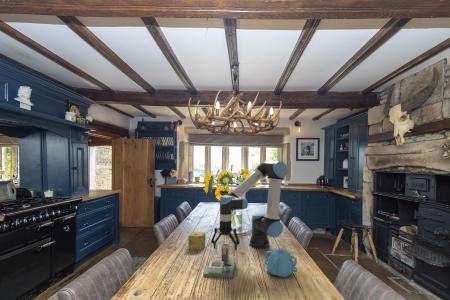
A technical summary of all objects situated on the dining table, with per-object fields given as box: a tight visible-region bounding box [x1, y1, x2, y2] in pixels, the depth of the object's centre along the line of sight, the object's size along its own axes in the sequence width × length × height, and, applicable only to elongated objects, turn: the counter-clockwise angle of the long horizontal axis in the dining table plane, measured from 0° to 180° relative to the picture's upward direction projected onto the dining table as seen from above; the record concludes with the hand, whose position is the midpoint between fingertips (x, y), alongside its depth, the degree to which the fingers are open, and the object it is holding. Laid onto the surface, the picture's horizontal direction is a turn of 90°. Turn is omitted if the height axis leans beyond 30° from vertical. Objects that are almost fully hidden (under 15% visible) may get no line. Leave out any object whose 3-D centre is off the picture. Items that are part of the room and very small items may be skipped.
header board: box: [203, 259, 236, 279], centre depth 145 cm, size 16×18×4 cm
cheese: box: [187, 231, 207, 251], centre depth 181 cm, size 10×11×10 cm
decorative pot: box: [264, 248, 298, 279], centre depth 142 cm, size 16×16×14 cm
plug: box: [220, 243, 230, 261], centre depth 157 cm, size 4×6×10 cm
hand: (225, 254), depth 158 cm, fingers open, 11 cm apart
